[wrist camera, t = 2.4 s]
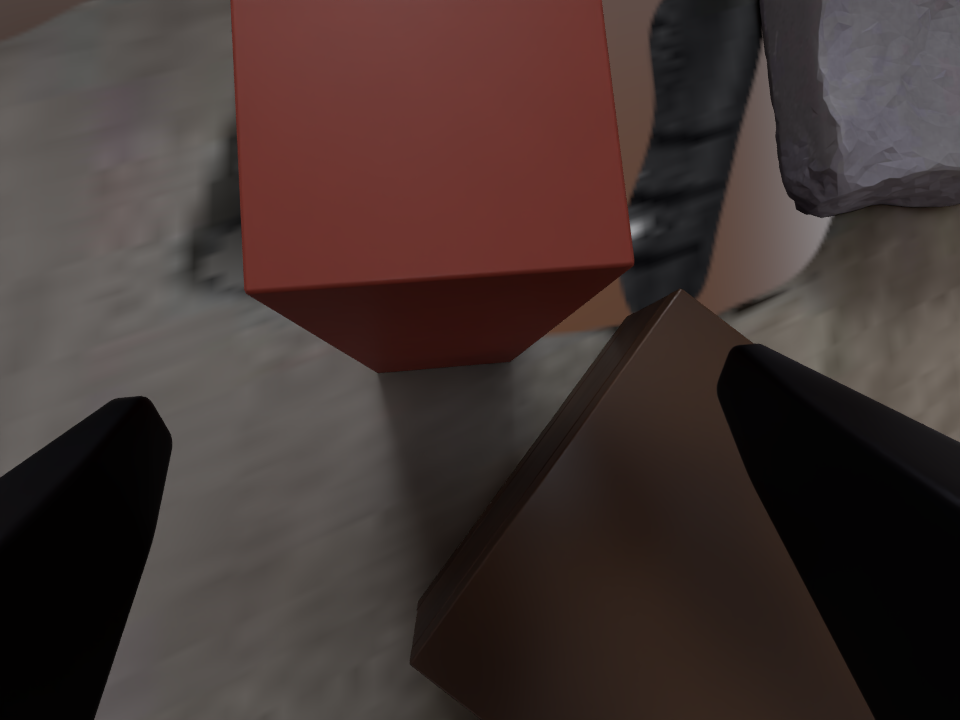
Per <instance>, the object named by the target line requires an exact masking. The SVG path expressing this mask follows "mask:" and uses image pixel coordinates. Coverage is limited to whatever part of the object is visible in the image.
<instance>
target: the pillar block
mask: <svg viewBox="0 0 960 720" xmlns="http://www.w3.org/2000/svg"><path fill="white" fill-rule="evenodd" d="M231 21H232V42H233V62H234V83H235V104H236V125H237V145H238V166H239V187H240V208H241V229H242V249H243V270H244V290H245V292H246V294H248V295H249V296H251V297H253V298H254V299H256V300H258V301H259V302H261V303H263V304H264V305H266V306H267V307H269V308H271V309H272V310H274V311H276V312H277V313H279V314H281V315H282V316H284V317H286V318H287V319H289V320H291V321H292V322H294V323H296V324H297V325H299V326H301V327H302V328H304V329H306V330H307V331H309V332H311V333H312V334H314V335H316V336H317V337H319V338H321V339H322V340H324V341H325V342H327V343H329V344H330V345H332V346H334V347H335V348H337V349H339V350H340V351H342V352H344V353H345V354H347V355H349V356H350V357H352V358H354V359H355V360H357V361H359V362H360V363H362V364H364V365H365V366H367V367H369V368H370V369H372V370H374V371H375V372H377V373H385V372H396V371H408V370H420V369H431V368H443V367H455V366H466V365H478V364H490V363H501V362H510V361H512V360H513V359H515V358H516V357H517V356H518V355H520V354H521V353H522V352H524V351H525V350H526V349H527V348H529V347H530V346H531V345H532V344H534V343H535V342H536V341H538V340H539V339H540V338H541V337H543V336H544V335H545V334H547V333H548V332H549V331H550V330H552V329H553V328H554V327H555V326H557V325H558V324H559V323H561V322H562V321H563V320H564V319H566V318H567V317H568V316H570V315H571V314H572V313H573V312H575V311H576V310H577V309H579V308H580V307H581V306H582V305H584V304H585V303H586V302H588V301H589V300H590V299H591V298H592V297H594V296H595V295H596V294H598V293H599V292H600V291H602V290H603V289H604V288H605V287H607V286H608V285H609V284H610V283H612V282H613V281H614V280H616V279H617V278H618V277H620V276H621V275H622V274H623V273H625V272H626V271H627V270H629V269H630V268H631V267H632V266H633V265H634V255H633V247H632V239H631V231H630V223H629V215H628V207H627V199H626V191H625V183H624V175H623V167H622V160H621V151H620V144H619V135H618V127H617V119H616V111H615V103H614V95H613V87H612V80H611V72H610V63H609V55H608V47H607V39H606V31H605V23H604V15H603V7H602V0H231Z"/></svg>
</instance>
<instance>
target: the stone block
mask: <svg viewBox="0 0 960 720" xmlns="http://www.w3.org/2000/svg"><path fill="white" fill-rule="evenodd" d="M759 2H760V12H761V21H762V30H763V39H764V49H765V55H766V59H767V68H768V79H769V87H770V96H771V102H772V106H773V109H774V113H775V121H776V142H777V154H778V160H779V168H780V172H781V177H782V182H783V184H784V187H785V189H786V192H787V194H788V196H789V197H790V198H791V199H793V200H794V201H795V206H796V209H797V210H798V211H800V212H802V213H804V214H806V215H808V214H811V215H814V216H817V217H820V218H823V217H830V216H834V215H836V214H840V213H846V212H851V211H855V210H858V209H861V208H864V207H867V206H870V205H877V204H887V205H895V206H907V207H944V206H951V205H956V204H960V0H759Z"/></svg>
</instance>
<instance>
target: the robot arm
mask: <svg viewBox="0 0 960 720" xmlns="http://www.w3.org/2000/svg"><path fill="white" fill-rule="evenodd" d="M717 396H718V400H719V402H720V405H721V407H722V410H723V413H724V415H725V418H726V420H727V423H728V425H729V428H730V431H731V433H732V436H733V438H734V441H735V443H736V446H737V449H738V451H739V454H740V456H741V459H742V461H743V464H744V466H745V469H746V471H747V473H748V476H749V478H750V480H751V482H752V484H753V486H754V488H755V490H756V492H757V494H758V496H759V498H760V500H761V502H762V504H763V506H764V508H765V510H766V511H767V513H768V515H769V517H770V519H771V521H772V523H773V525H774V527H775V529H776V531H777V533H778V534H779V536H780V538H781V540H782V542H783V544H784V546H785V548H786V550H787V552H788V554H789V556H790V557H791V559H792V561H793V563H794V565H795V567H796V569H797V571H798V573H799V575H800V577H801V579H802V580H803V582H804V584H805V586H806V588H807V590H808V592H809V594H810V596H811V598H812V600H813V602H814V603H815V605H816V607H817V609H818V611H819V613H820V615H821V617H822V619H823V621H824V623H825V625H826V626H827V628H828V630H829V632H830V634H831V636H832V638H833V640H834V642H835V644H836V646H837V648H838V650H839V651H840V653H841V655H842V657H843V659H844V661H845V663H846V665H847V667H848V669H849V671H850V673H851V674H852V676H853V678H854V680H855V682H856V684H857V686H858V688H859V690H860V692H861V694H862V696H863V697H864V699H865V701H866V703H867V705H868V707H869V709H870V711H871V713H872V715H873V717H874V719H875V720H960V442H958V441H956V440H954V439H952V438H950V437H948V436H946V435H944V434H942V433H940V432H938V431H936V430H934V429H932V428H929V427H927V426H925V425H923V424H921V423H919V422H917V421H915V420H913V419H911V418H909V417H907V416H905V415H903V414H901V413H899V412H897V411H895V410H893V409H891V408H889V407H887V406H885V405H883V404H881V403H879V402H877V401H875V400H873V399H871V398H869V397H867V396H865V395H863V394H861V393H859V392H857V391H855V390H853V389H851V388H849V387H847V386H845V385H843V384H841V383H839V382H837V381H835V380H832V379H830V378H828V377H826V376H824V375H822V374H820V373H818V372H816V371H814V370H812V369H810V368H808V367H806V366H804V365H802V364H800V363H798V362H796V361H794V360H792V359H790V358H788V357H786V356H784V355H782V354H780V353H778V352H776V351H774V350H772V349H770V348H768V347H766V346H764V345H761V344H746V345H737V346H734V347H733V348H732V349H731V350H730V351H729V353H728V356H727V358H726V361H725V364H724V366H723V369H722V371H721V374H720V377H719V379H718V382H717ZM171 452H172V438H171V434H170V432H169V430H168V428H167V427H166V425H165V423H164V422H163V420H162V418H161V417H160V415H159V413H158V411H157V410H156V408H155V406H154V405H153V403H152V402H151V400H149V399H148V398H146V397H143V396H135V397H124V398H117V399H114V400H111V401H110V402H108V403H107V404H105V405H104V406H103V407H101V408H100V409H98V410H97V411H95V412H94V413H93V414H91V415H90V416H88V417H87V418H85V419H84V420H82V421H81V422H80V423H78V424H77V425H75V426H74V427H72V428H71V429H69V430H68V431H67V432H65V433H64V434H62V435H61V436H59V437H58V438H57V439H55V440H54V441H52V442H51V443H49V444H48V445H46V446H45V447H44V448H42V449H41V450H39V451H38V452H36V453H35V454H33V455H32V456H31V457H29V458H28V459H26V460H25V461H23V462H22V463H21V464H19V465H18V466H16V467H15V468H13V469H12V470H10V471H9V472H8V473H6V474H5V475H3V476H2V477H0V720H94V718H95V715H96V712H97V709H98V706H99V703H100V700H101V697H102V694H103V691H104V688H105V685H106V682H107V679H108V676H109V673H110V670H111V667H112V664H113V661H114V658H115V655H116V652H117V649H118V646H119V643H120V640H121V637H122V634H123V631H124V628H125V625H126V621H127V618H128V615H129V612H130V609H131V606H132V603H133V600H134V597H135V594H136V591H137V588H138V585H139V582H140V579H141V576H142V573H143V570H144V567H145V564H146V561H147V558H148V555H149V551H150V548H151V545H152V541H153V537H154V533H155V529H156V525H157V520H158V515H159V510H160V505H161V500H162V495H163V491H164V486H165V481H166V476H167V471H168V466H169V461H170V456H171Z"/></svg>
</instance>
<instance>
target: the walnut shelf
mask: <svg viewBox="0 0 960 720" xmlns="http://www.w3.org/2000/svg"><path fill="white" fill-rule="evenodd" d="M746 344H753V343H752V342H751V341H750V340H748V339H747V338H746V337H744V336H743V335H742V334H740V333H739V332H738V331H736V330H735V329H734V328H732V327H731V326H730V325H729V324H727V323H726V322H725V321H723V320H722V319H721V318H719V317H718V316H717V315H715V314H714V313H713V312H712V311H710V310H709V309H708V308H706V307H705V306H703V305H702V304H701V303H700V302H698V301H697V300H696V299H694V298H693V297H692V296H691V295H689V294H688V293H687V292H685V291H684V290H683V289H678V290H677V291H675V292H673V293H671V294H669V295H668V296H666V297H664V298H662V299H660V300H658V301H656V302H654V303H653V304H651V305H649V306H647V307H645V308H643V309H641V310H639V311H637V312H636V313H633V314H631V315H629V316H627V317H626V319H625V320H624V321H623V323H622V324H621V325H620V327H619V328H618V329H617V331H616V332H615V333H614V335H613V336H612V338H611V339H610V340H609V342H608V343H607V344H606V346H605V347H604V348H603V350H602V351H601V353H600V354H599V355H598V357H597V358H596V359H595V361H594V362H593V363H592V365H591V366H590V368H589V369H588V370H587V372H586V373H585V374H584V376H583V377H582V378H581V380H580V381H579V383H578V384H577V385H576V387H575V388H574V389H573V391H572V392H571V393H570V395H569V396H568V398H567V399H566V400H565V402H564V403H563V404H562V406H561V407H560V408H559V410H558V411H557V413H556V414H555V415H554V417H553V418H552V419H551V421H550V422H549V424H548V425H547V426H546V428H545V429H544V430H543V432H542V433H541V434H540V436H539V437H538V439H537V440H536V441H535V443H534V444H533V445H532V447H531V448H530V449H529V451H528V452H527V454H526V455H525V456H524V458H523V459H522V460H521V462H520V463H519V464H518V466H517V467H516V469H515V470H514V471H513V473H512V474H511V475H510V477H509V478H508V479H507V481H506V482H505V484H504V485H503V486H502V488H501V489H500V490H499V492H498V493H497V494H496V496H495V497H494V499H493V500H492V501H491V503H490V504H489V505H488V507H487V508H486V510H485V511H484V512H483V514H482V515H481V516H480V518H479V519H478V520H477V522H476V523H475V525H474V526H473V527H472V529H471V530H470V531H469V533H468V534H467V535H466V537H465V538H464V540H463V541H462V542H461V544H460V545H459V546H458V548H457V549H456V550H455V552H454V553H453V555H452V556H451V557H450V559H449V560H448V561H447V563H446V564H445V565H444V567H443V568H442V570H441V571H440V572H439V574H438V575H437V576H436V578H435V579H434V580H433V582H432V583H431V585H430V586H429V587H428V589H427V590H426V591H425V593H424V594H423V596H422V597H421V598H420V600H419V601H418V605H417V616H416V623H415V630H414V637H413V645H412V651H411V657H410V665H411V666H412V667H414V668H415V669H416V670H417V671H419V672H420V673H421V674H423V675H424V676H425V677H426V678H428V679H429V680H430V681H432V682H433V683H434V684H436V685H437V686H438V687H439V688H441V689H442V690H443V691H445V692H446V693H447V694H448V695H450V696H451V697H452V698H454V699H455V700H456V701H457V702H459V703H460V704H461V705H463V706H464V707H465V708H467V709H468V710H469V711H470V712H472V713H473V714H474V715H476V716H477V717H478V718H479V719H481V720H875V719H874V717H873V715H872V713H871V711H870V709H869V707H868V705H867V703H866V701H865V699H864V697H863V696H862V694H861V692H860V690H859V688H858V686H857V684H856V682H855V680H854V678H853V676H852V674H851V673H850V671H849V669H848V667H847V665H846V663H845V661H844V659H843V657H842V655H841V653H840V651H839V650H838V648H837V646H836V644H835V642H834V640H833V638H832V636H831V634H830V632H829V630H828V628H827V626H826V625H825V623H824V621H823V619H822V617H821V615H820V613H819V611H818V609H817V607H816V605H815V603H814V602H813V600H812V598H811V596H810V594H809V592H808V590H807V588H806V586H805V584H804V582H803V580H802V579H801V577H800V575H799V573H798V571H797V569H796V567H795V565H794V563H793V561H792V559H791V557H790V556H789V554H788V552H787V550H786V548H785V546H784V544H783V542H782V540H781V538H780V536H779V534H778V533H777V531H776V529H775V527H774V525H773V523H772V521H771V519H770V517H769V515H768V513H767V511H766V510H765V508H764V506H763V504H762V502H761V500H760V498H759V496H758V494H757V492H756V490H755V488H754V486H753V484H752V482H751V480H750V478H749V476H748V473H747V471H746V469H745V466H744V464H743V461H742V459H741V456H740V454H739V451H738V449H737V446H736V443H735V441H734V438H733V436H732V433H731V431H730V428H729V425H728V423H727V420H726V418H725V415H724V413H723V410H722V407H721V405H720V402H719V400H718V396H717V382H718V379H719V377H720V374H721V371H722V369H723V366H724V364H725V361H726V358H727V356H728V353H729V351H730V350H731V349H732V348H733V347H734V346H737V345H746Z"/></svg>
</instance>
